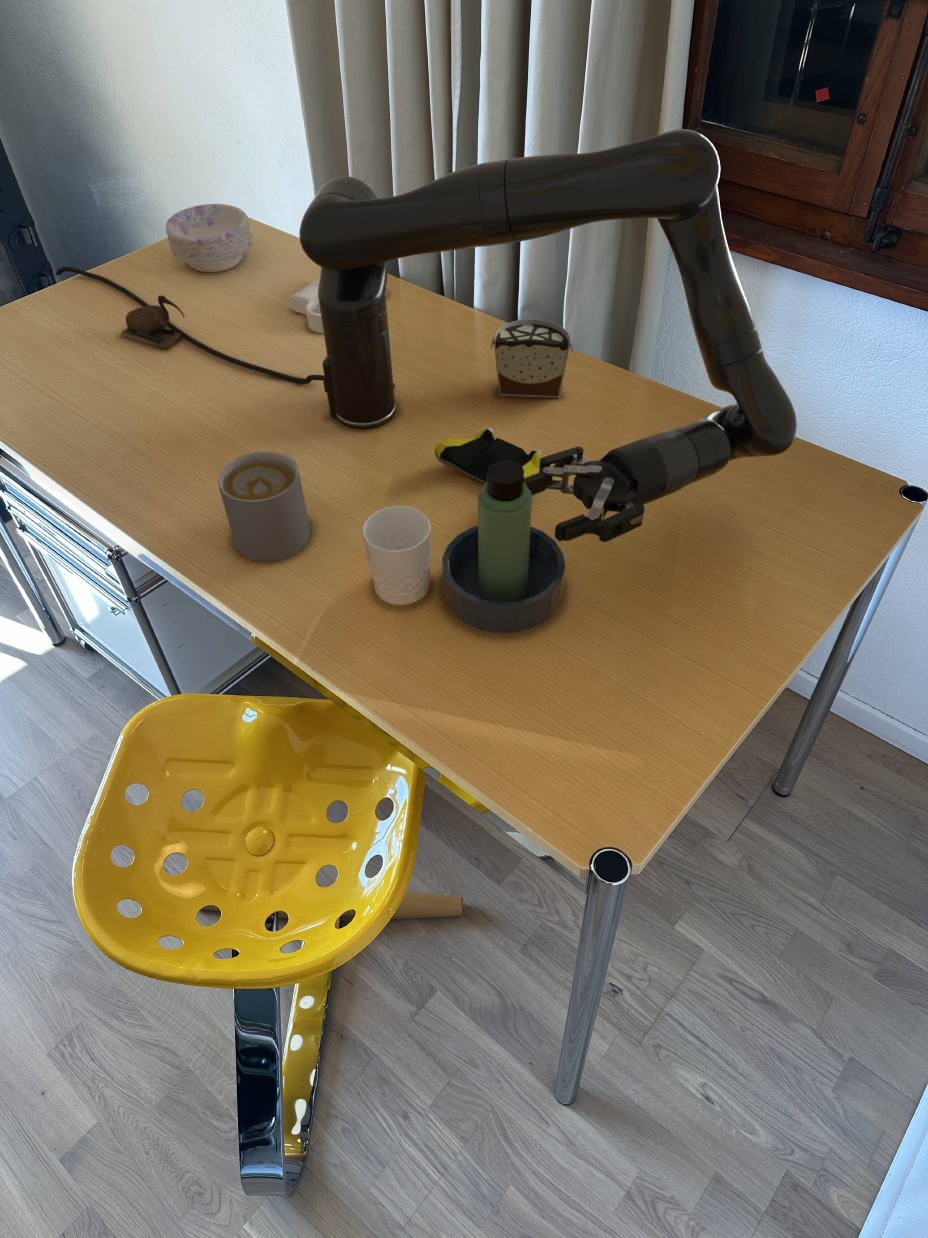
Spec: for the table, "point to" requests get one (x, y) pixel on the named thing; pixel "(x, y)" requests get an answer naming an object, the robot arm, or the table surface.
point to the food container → (531, 358)
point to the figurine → (152, 325)
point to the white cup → (399, 553)
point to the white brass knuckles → (308, 305)
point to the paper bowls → (209, 236)
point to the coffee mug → (265, 505)
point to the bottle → (504, 533)
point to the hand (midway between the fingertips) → (537, 512)
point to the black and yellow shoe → (484, 455)
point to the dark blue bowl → (503, 616)
